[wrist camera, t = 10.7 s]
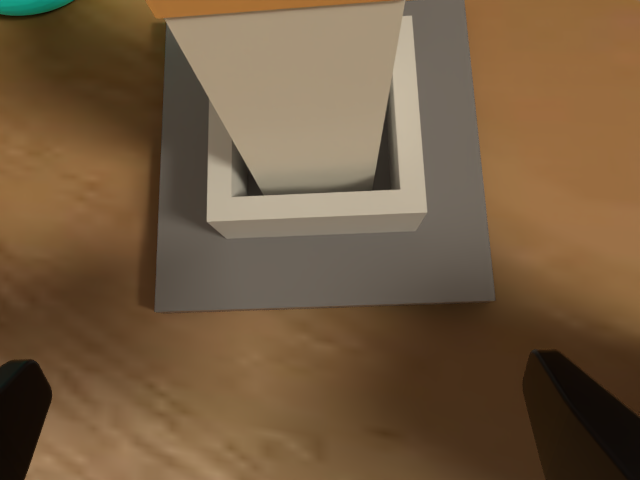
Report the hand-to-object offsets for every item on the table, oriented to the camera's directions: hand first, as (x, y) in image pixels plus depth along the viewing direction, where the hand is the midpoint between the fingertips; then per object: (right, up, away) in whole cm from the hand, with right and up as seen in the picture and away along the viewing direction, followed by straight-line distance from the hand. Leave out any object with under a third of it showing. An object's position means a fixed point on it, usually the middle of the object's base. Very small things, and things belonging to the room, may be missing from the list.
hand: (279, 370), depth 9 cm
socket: (+1, +6, +13) cm, 15 cm away
